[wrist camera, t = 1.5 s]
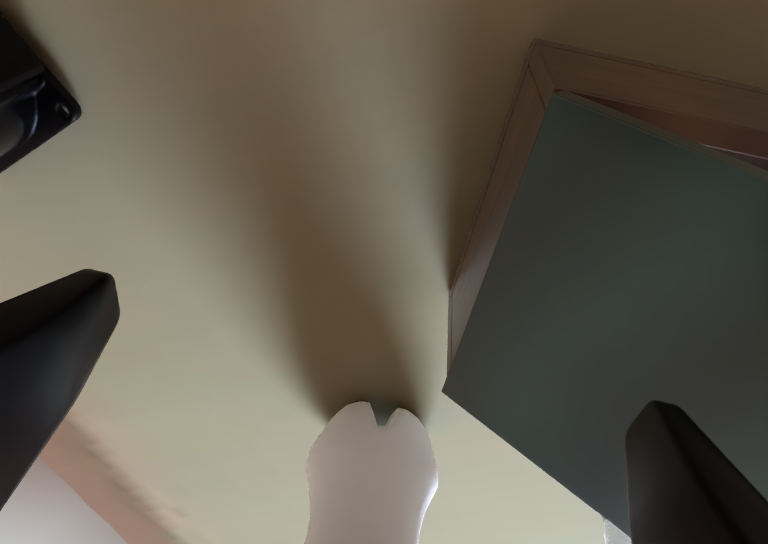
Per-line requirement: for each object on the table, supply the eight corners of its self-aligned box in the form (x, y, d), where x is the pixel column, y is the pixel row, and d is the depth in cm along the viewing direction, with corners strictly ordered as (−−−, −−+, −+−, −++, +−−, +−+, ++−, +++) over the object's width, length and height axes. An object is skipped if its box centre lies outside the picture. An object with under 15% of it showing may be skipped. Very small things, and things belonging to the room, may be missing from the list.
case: (903, 119, 18) (1038, 191, 14) (717, 351, 25) (769, 446, 21) (532, 38, 18) (555, 85, 14) (448, 294, 25) (446, 379, 20)
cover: (1415, 427, 7) (1447, 457, 7) (847, 682, 14) (846, 706, 14) (563, 89, 13) (552, 92, 13) (451, 382, 20) (440, 392, 20)
